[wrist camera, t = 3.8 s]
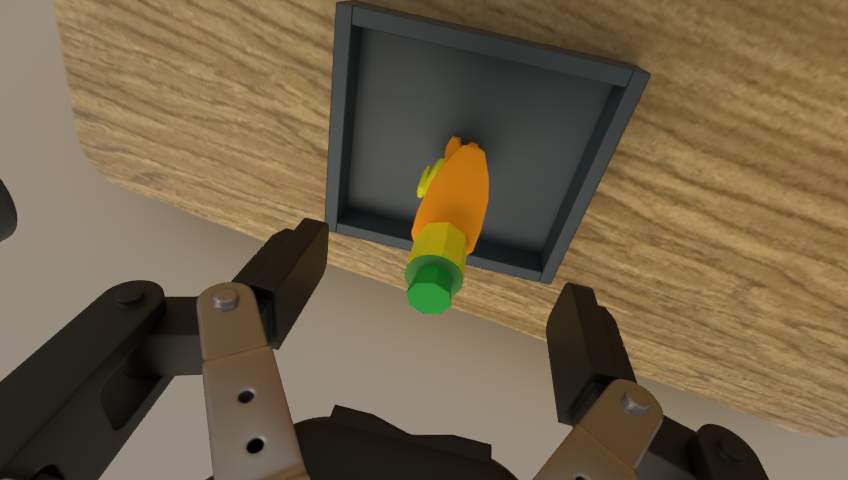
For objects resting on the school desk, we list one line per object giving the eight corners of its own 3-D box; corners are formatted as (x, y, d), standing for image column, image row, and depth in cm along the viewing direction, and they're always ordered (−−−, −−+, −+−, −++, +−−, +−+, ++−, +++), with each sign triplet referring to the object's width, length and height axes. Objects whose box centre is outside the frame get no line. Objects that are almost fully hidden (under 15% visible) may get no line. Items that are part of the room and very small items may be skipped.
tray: (336, 212, 27) (323, 230, 25) (351, -1, 20) (335, 1, 18) (546, 263, 27) (550, 285, 25) (636, 64, 20) (652, 73, 18)
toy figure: (449, 84, 21) (408, 173, 11) (513, 104, 21) (530, 210, 11) (418, 193, 25) (367, 333, 15) (473, 210, 25) (459, 361, 15)
